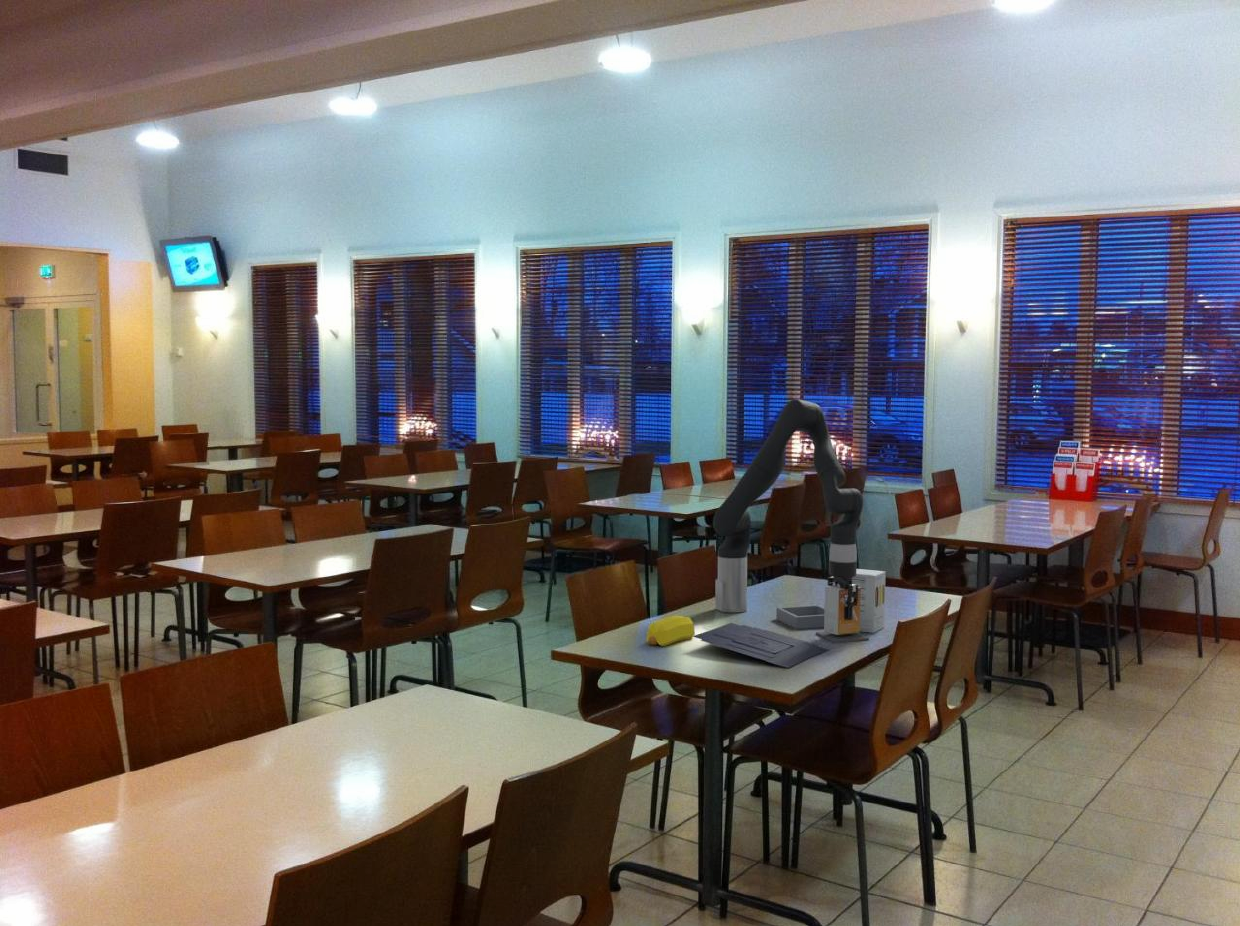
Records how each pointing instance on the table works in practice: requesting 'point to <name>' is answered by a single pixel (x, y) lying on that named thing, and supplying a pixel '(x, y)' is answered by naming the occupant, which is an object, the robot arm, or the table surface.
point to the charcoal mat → (842, 637)
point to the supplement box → (871, 599)
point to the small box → (840, 612)
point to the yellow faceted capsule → (670, 630)
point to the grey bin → (801, 616)
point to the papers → (761, 644)
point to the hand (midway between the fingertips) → (842, 616)
